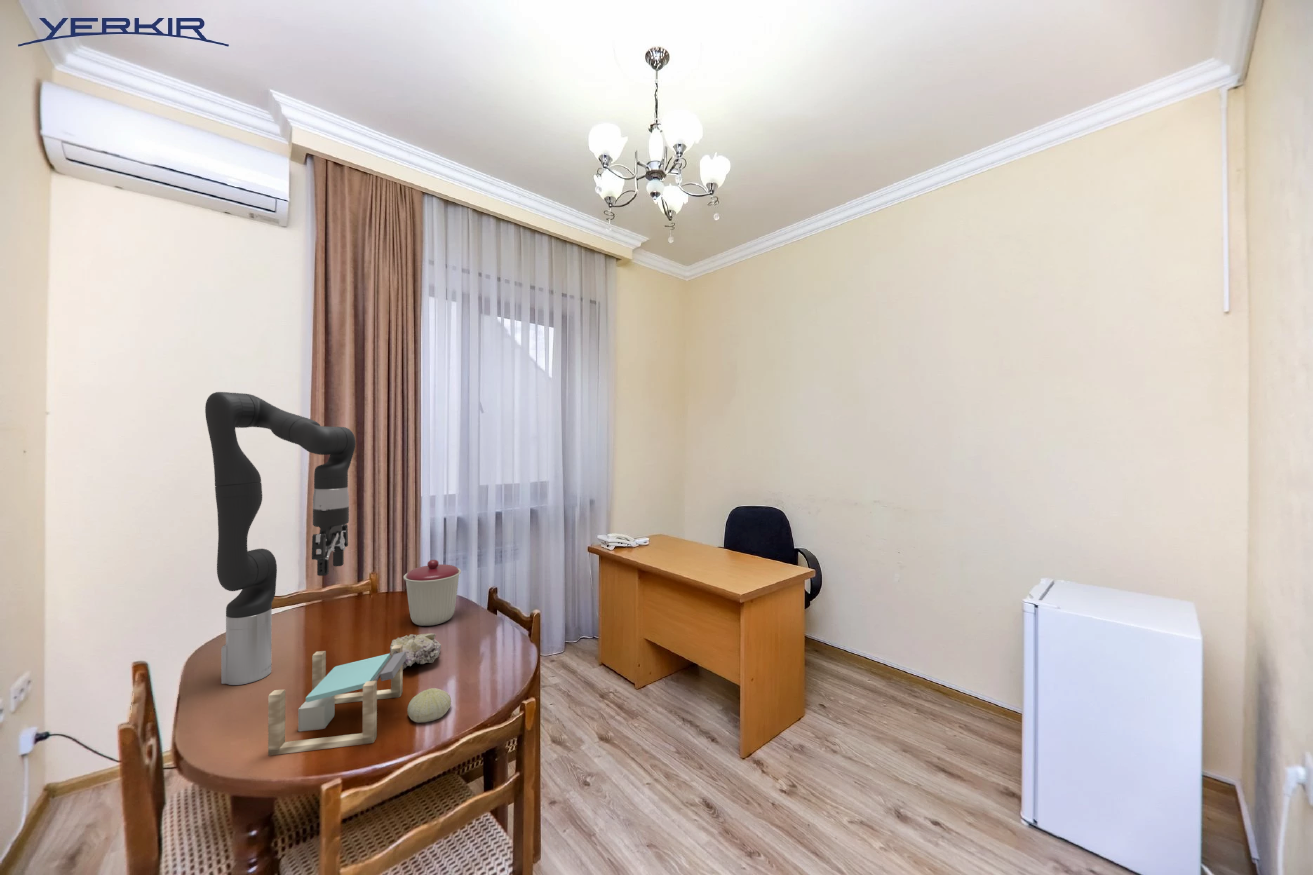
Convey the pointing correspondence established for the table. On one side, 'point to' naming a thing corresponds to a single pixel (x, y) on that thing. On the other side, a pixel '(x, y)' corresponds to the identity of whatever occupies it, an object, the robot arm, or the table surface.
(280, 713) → the frame
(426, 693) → the sea urchin shell
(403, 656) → the trapdoor
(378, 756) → the table surface
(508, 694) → the table surface
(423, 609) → the canister
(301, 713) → the grey cube
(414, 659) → the geode
